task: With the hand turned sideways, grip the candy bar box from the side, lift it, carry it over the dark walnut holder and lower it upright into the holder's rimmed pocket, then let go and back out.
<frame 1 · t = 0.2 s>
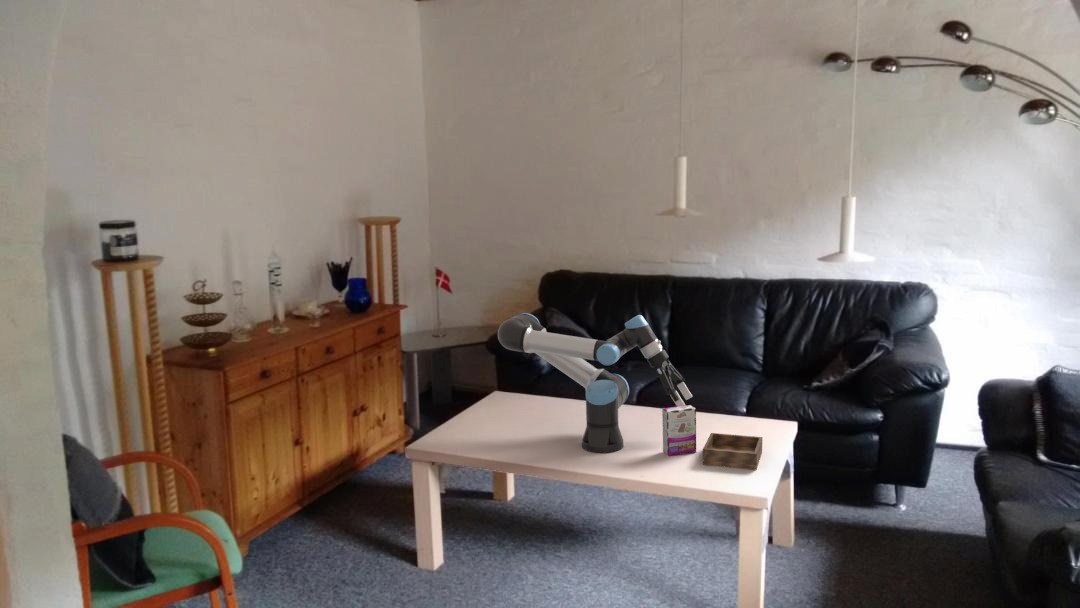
hand: (686, 403, 316), 15 cm above the table, tool tilted 35°, fingers open, 13 cm apart
walnut holder: (732, 458, 300), on the table
candy bar box: (679, 452, 307), on the table
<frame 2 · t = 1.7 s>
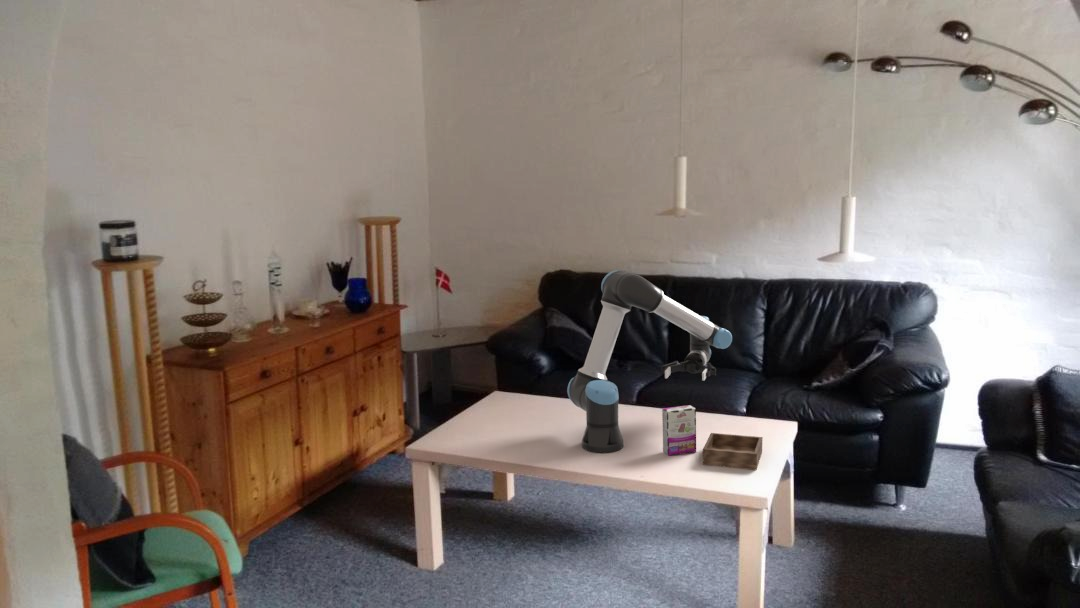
hand: (684, 375, 313), 25 cm above the table, tool horizontal, fingers open, 13 cm apart
nothing on the table moved.
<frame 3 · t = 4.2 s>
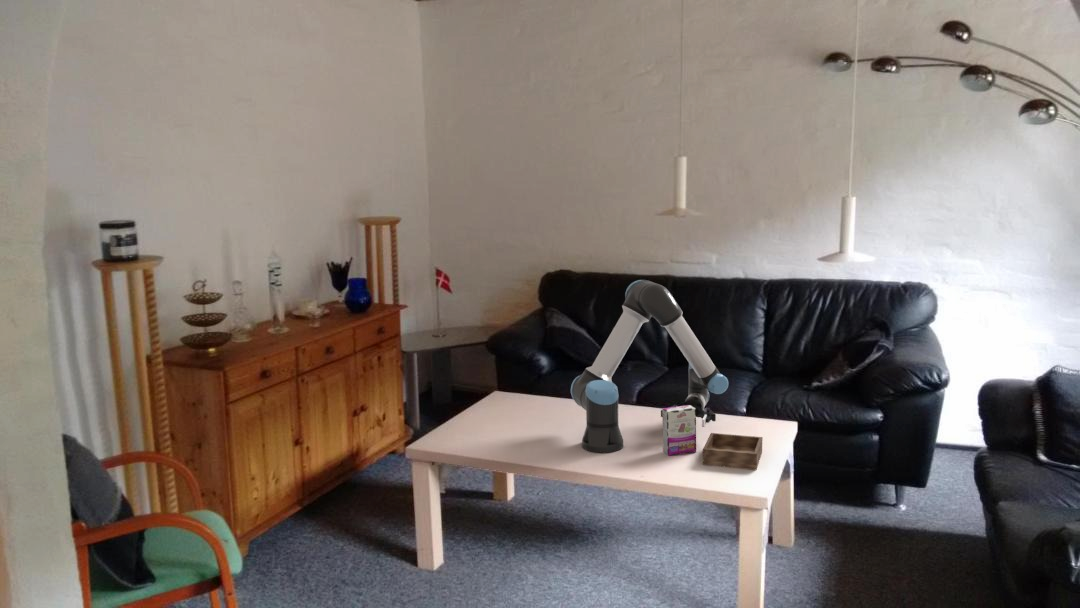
hand: (684, 421, 311), 9 cm above the table, tool horizontal, fingers open, 13 cm apart
nothing on the table moved.
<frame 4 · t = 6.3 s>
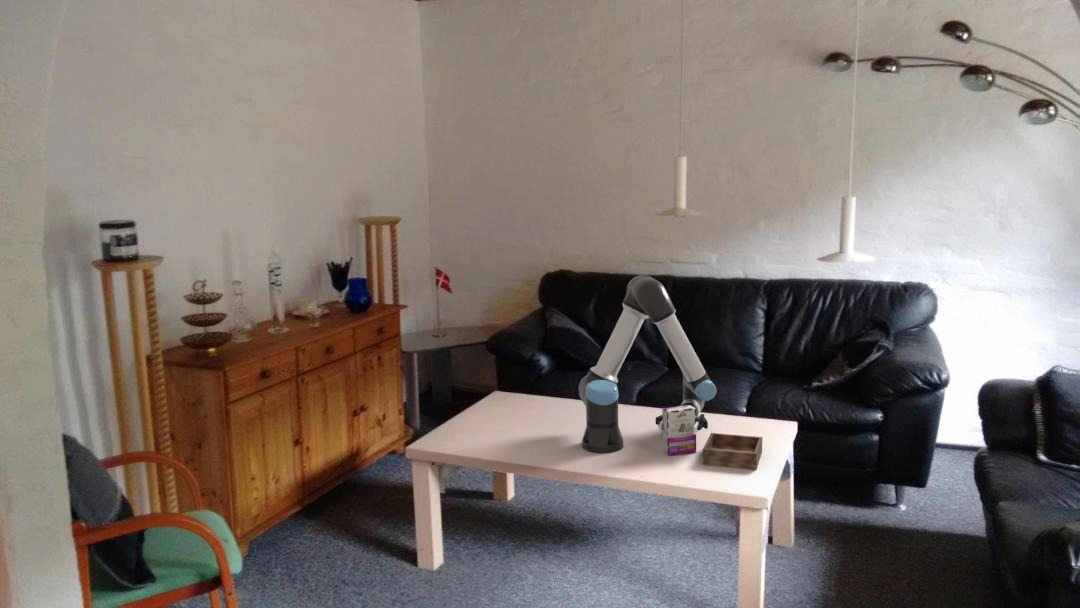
hand: (677, 429, 302), 10 cm above the table, tool horizontal, fingers closed on candy bar box, 11 cm apart
candy bar box: (679, 452, 307), on the table, touching gripper
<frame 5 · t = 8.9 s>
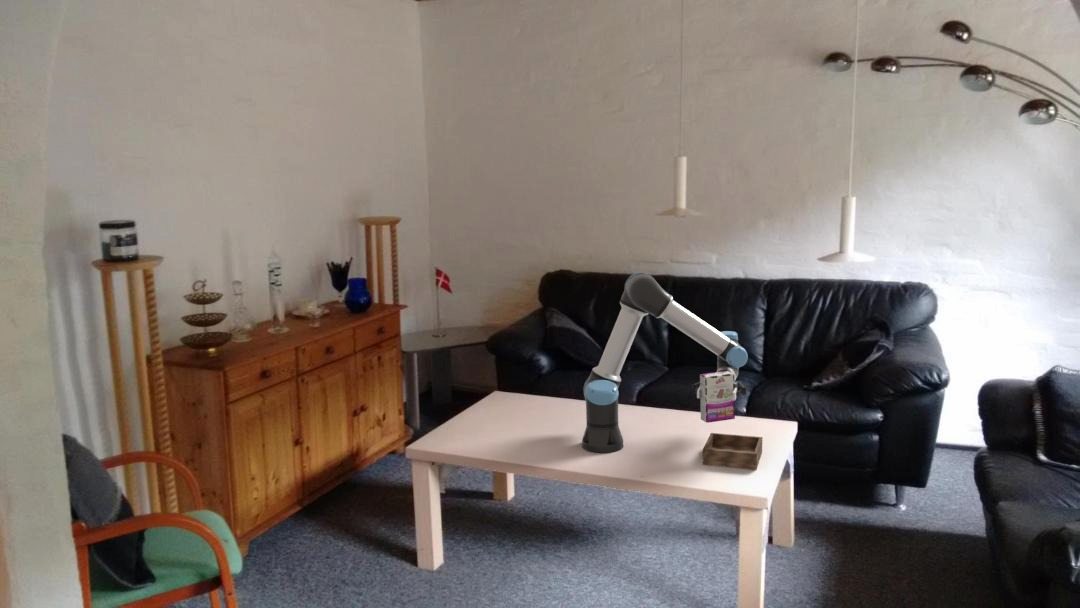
hand: (715, 395, 296), 23 cm above the table, tool horizontal, fingers closed on candy bar box, 11 cm apart
candy bar box: (717, 419, 301), point 13 cm above the table, touching gripper
when the fingers open (12 cm above the table, at t = 11.9 s): candy bar box stays where it is, resting on walnut holder.
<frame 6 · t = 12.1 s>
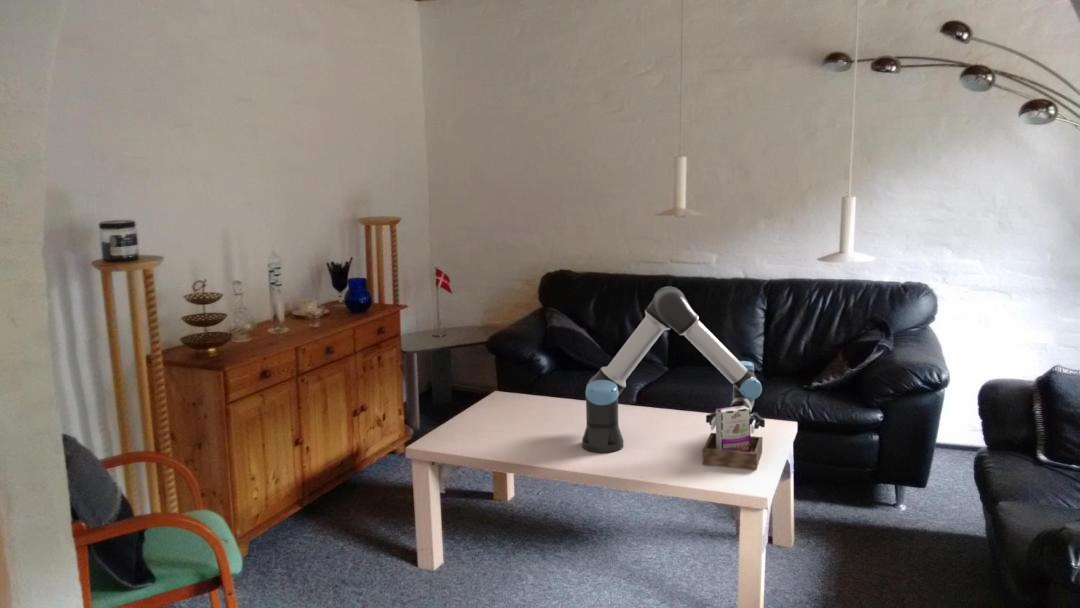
hand: (732, 427, 295), 12 cm above the table, tool horizontal, fingers open, 13 cm apart
candy bar box: (732, 454, 300), point 1 cm above the table, touching walnut holder
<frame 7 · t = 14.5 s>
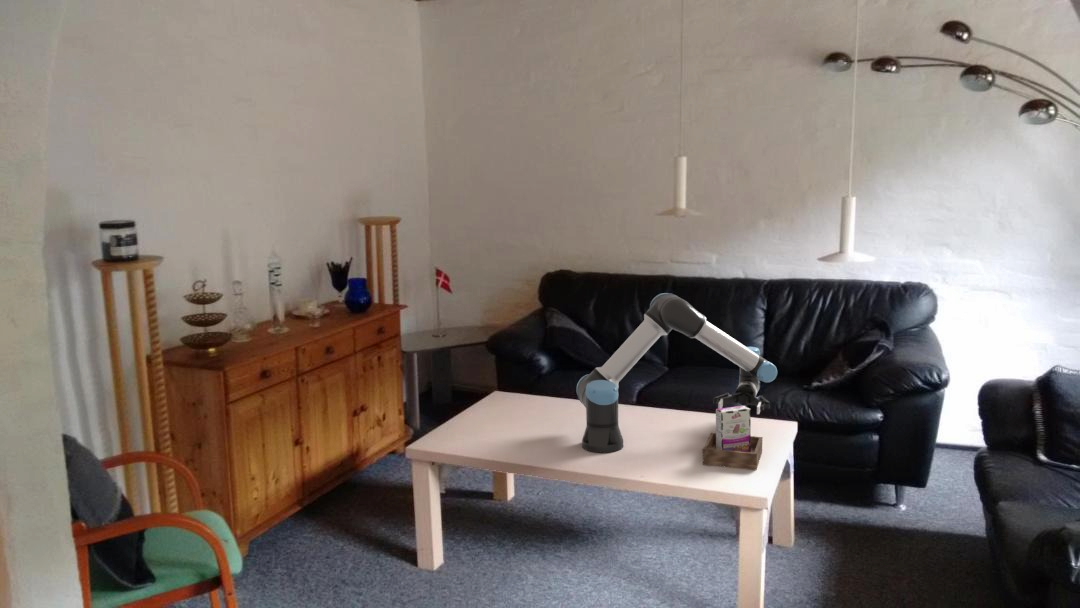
hand: (738, 409, 307), 15 cm above the table, tool horizontal, fingers open, 13 cm apart
nothing on the table moved.
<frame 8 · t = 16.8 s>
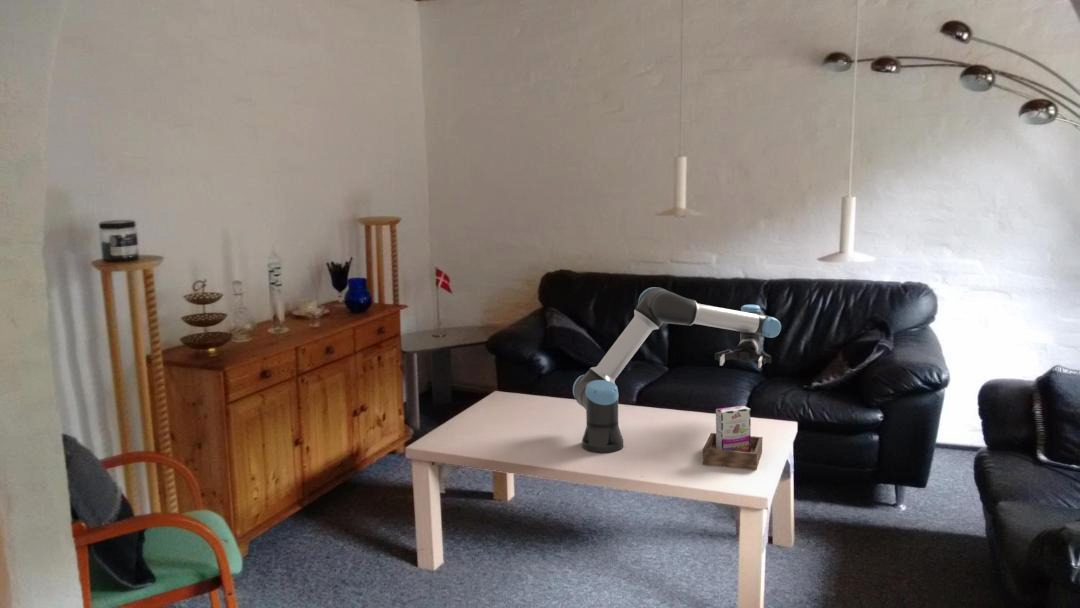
hand: (740, 363, 310), 30 cm above the table, tool horizontal, fingers open, 13 cm apart
nothing on the table moved.
at the end: candy bar box 0.1 cm off-centre on the walnut holder, point 1.3 cm above the walnut holder's base; candy bar box tilted 0°; the gripper is holding nothing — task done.
